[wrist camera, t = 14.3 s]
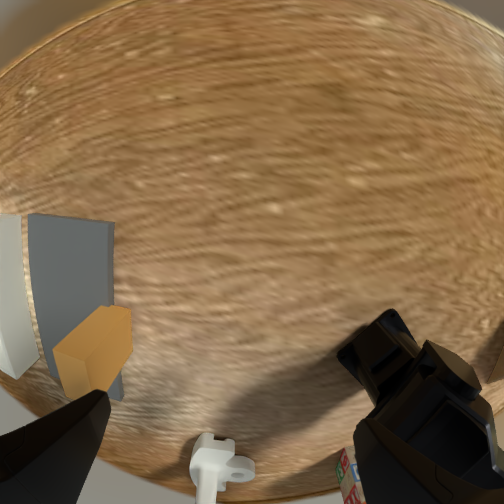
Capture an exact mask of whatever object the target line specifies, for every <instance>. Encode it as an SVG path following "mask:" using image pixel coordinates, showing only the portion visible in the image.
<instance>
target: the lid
mask: <svg viewBox="0 0 504 504" xmlns="http://www.w3.org/2000/svg"><path fill="white" fill-rule="evenodd" d="M114 224H115V222H108V221H100V220H92V219H83V218H75V217H66V216H58V215H49V214H40V213H32V214H28V250H29V266H30V276H31V285H32V293H33V300H34V307H35V312H36V318H37V323H38V328H39V333H40V337H41V342H42V346H43V350H44V354H45V357H46V361H47V365H48V368H49V371H50V375H51V376H53V377H55V378H58V379H60V380H61V383H62V386H63V389H64V392H65V395H66V397H68V398H71V399H73V400H76V399H78V398H80V397H82V396H84V395H85V394H87V393H89V392H91V391H93V390H95V389H100V390H103V391H106V392H107V393H108V397H109V398H111V399H114V400H117V401H122V399H123V397H124V390H123V384H122V378H121V371H120V370H121V369H122V367H123V365H124V364H125V362H126V361H127V359H128V358H129V356H130V355H131V353H132V352H133V345H132V329H131V309H128V308H123V307H119V306H115V305H114V286H113V249H114Z"/></svg>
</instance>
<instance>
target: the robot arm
mask: <svg viewBox="0 0 504 504" xmlns="http://www.w3.org/2000/svg"><path fill="white" fill-rule="evenodd" d="M392 313H393V315H392V316H390V315H391V314H392ZM342 355H344V356H343V357H341V356H342ZM337 358H338V360H339V362H340V363H341V364H342V365H343V366H344V367H345V368H346V369H347V370H348V371H349V372H350V373H351V374H352V375H353V376H354V377H355V378H356V379H357V380H358V381H359V382H360V383H361V384H362V385H363V386H364V388H365V390H366V391H367V393H368V395H369V397H370V399H371V401H372V403H373V404H374V406H375V408H374V409H373V410H372V411H371V412H370V413H369V414H368V416H367V417H366V418H364V419H362V420H361V421H360V422H359V423H358V424H357V425H356V430H355V431H354V434H353V441H354V448H355V454H354V457H355V460H356V463H357V469H358V474H359V478H360V482H361V485H362V489H363V493H364V498H365V502H366V504H504V451H503V450H502V449H501V448H500V447H499V446H498V444H497V437H496V430H495V424H494V418H493V412H492V408H491V405H490V404H489V403H488V402H487V401H486V400H485V399H484V398H483V397H482V396H481V395H479V393H480V392H481V390H482V387H481V385H480V382H479V380H478V378H477V376H476V373H475V371H474V369H473V368H472V367H471V366H470V365H469V364H468V363H467V362H465V361H464V360H463V359H462V358H461V357H459V356H458V355H457V354H455V353H453V352H451V351H449V350H447V349H445V348H443V347H441V346H439V345H437V344H435V343H433V342H431V341H429V340H426V341H425V343H424V344H423V348H422V349H421V348H420V347H419V346H418V345H417V343H416V341H415V340H414V338H413V336H412V335H411V333H410V332H409V330H408V328H407V327H406V325H405V323H404V322H403V320H402V319H401V317H400V316H399V314H398V312H397V311H396V310H395V309H393V308H392V309H389V310H388V311H387V312H386V313H384V314H383V315H382V316H381V317H380V318H379V319H378V320H377V321H375V322H374V323H373V324H372V325H371V326H370V327H368V328H367V329H366V330H365V331H364V332H363V333H361V334H360V335H359V336H358V337H357V338H355V339H354V340H353V341H352V342H350V343H349V344H348V345H347V346H345V347H344V348H343V349H342V350H340V351H339V352H338V353H337ZM110 413H111V405H110V401H109V397H108V393H107V392H106V391H103V390H100V389H95V390H93V391H91V392H89V393H87V394H85V395H84V396H82V397H80V398H78V399H76V400H74V401H72V402H70V403H68V404H67V405H65V406H63V407H61V408H59V409H57V410H55V411H53V412H51V413H49V414H47V415H45V416H43V417H41V418H39V419H37V420H35V421H33V422H31V423H29V424H27V425H26V426H23V427H21V428H18V429H16V430H14V431H12V432H9V433H7V434H4V435H2V436H0V504H76V502H77V500H78V497H79V495H80V492H81V490H82V487H83V485H84V483H85V480H86V478H87V475H88V473H89V471H90V468H91V466H92V463H93V461H94V459H95V457H96V454H97V452H98V450H99V448H100V445H101V442H102V439H103V436H104V432H105V429H106V426H107V423H108V419H109V416H110Z"/></svg>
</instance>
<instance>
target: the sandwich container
mask: <svg viewBox="0 0 504 504" xmlns="http://www.w3.org/2000/svg"><path fill="white" fill-rule="evenodd" d="M502 379H504V346H503V349H502V351H501V354H500V356H499V358H498V361H497V363H496V365H495V367H494V370H493V372H492V374H491V376H490V378H489V380H488V382H487V384H489V383H492V382H496V381H499V380H502Z"/></svg>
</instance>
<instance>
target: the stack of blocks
mask: <svg viewBox="0 0 504 504" xmlns="http://www.w3.org/2000/svg"><path fill="white" fill-rule="evenodd" d="M354 454H355V448H354V445H353V446H348V447H344V449H343V452H342V454H341V457H340V460H339V463H338V465H337V467H336V474H337V478H338V481H339V485H340V488H341V492H342V497H343V501H344V504H366V502H365V498H364V493H363V489H362V485H361V482H360V478H359V474H358V469H357V463H356V460H355V457H354Z"/></svg>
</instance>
